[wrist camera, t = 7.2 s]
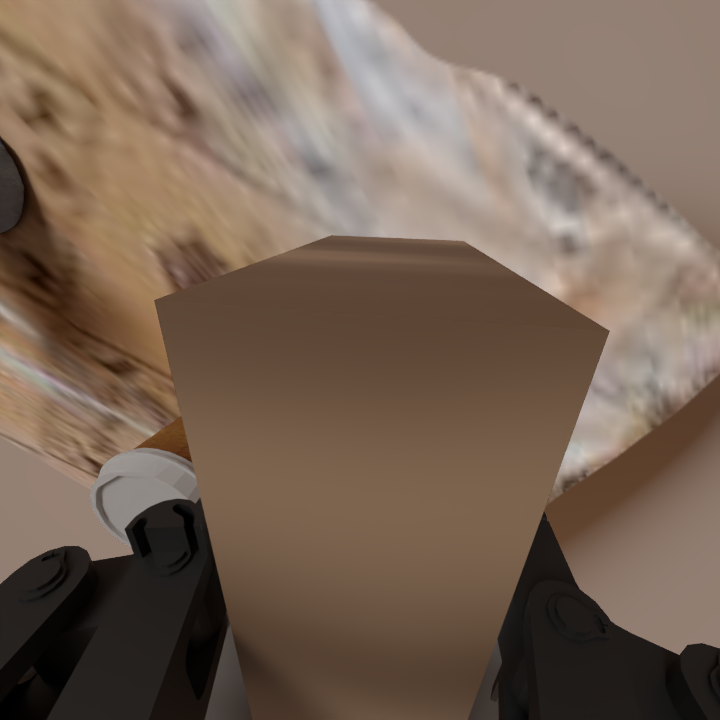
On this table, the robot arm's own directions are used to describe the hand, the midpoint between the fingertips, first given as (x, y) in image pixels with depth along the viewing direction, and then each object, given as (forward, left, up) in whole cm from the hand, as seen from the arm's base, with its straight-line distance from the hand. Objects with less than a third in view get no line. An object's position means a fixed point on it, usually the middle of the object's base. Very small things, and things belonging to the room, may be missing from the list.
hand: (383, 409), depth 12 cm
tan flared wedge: (-1, 0, 0) cm, 1 cm away
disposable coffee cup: (-14, +16, -16) cm, 27 cm away
